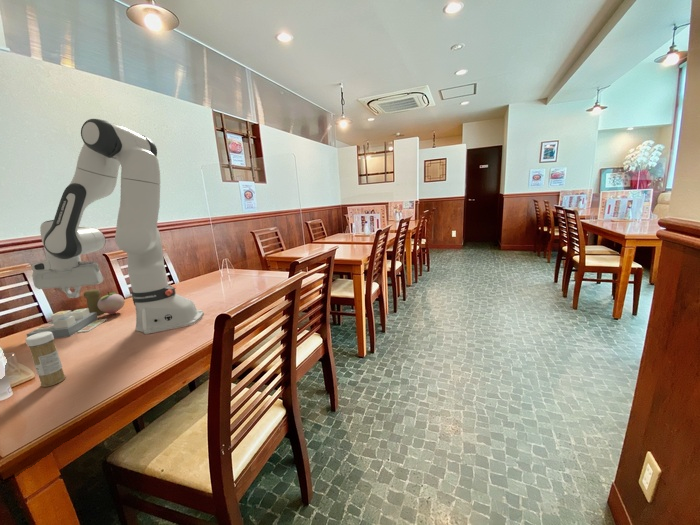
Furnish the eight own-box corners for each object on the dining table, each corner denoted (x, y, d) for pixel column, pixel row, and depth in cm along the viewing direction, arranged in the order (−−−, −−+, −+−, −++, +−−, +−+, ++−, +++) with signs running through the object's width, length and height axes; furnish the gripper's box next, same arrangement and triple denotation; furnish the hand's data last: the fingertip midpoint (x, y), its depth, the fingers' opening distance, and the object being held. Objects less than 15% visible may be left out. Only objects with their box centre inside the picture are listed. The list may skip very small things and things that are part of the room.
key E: (90, 316, 111) (88, 307, 111) (83, 320, 108) (81, 311, 107) (78, 317, 110) (76, 309, 110) (71, 321, 107) (68, 312, 106)
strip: (106, 319, 113) (106, 318, 112) (88, 331, 102) (88, 330, 102) (96, 321, 112) (95, 319, 112) (77, 333, 101) (76, 331, 101)
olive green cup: (95, 317, 116) (88, 292, 114) (84, 316, 117) (77, 292, 115) (110, 311, 122) (104, 287, 120) (99, 311, 123) (93, 287, 121)
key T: (59, 331, 103) (56, 322, 102) (51, 336, 99) (48, 327, 98) (46, 333, 102) (43, 324, 101) (37, 338, 98) (34, 329, 97)
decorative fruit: (121, 316, 115) (115, 293, 113) (97, 319, 113) (91, 296, 111) (130, 308, 124) (125, 287, 122) (109, 311, 122) (103, 290, 120)
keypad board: (98, 318, 114) (96, 312, 113) (70, 336, 99) (67, 328, 98) (63, 323, 111) (61, 316, 111) (29, 342, 96) (26, 334, 95)
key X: (76, 324, 104) (73, 315, 103) (68, 328, 100) (65, 319, 99) (63, 326, 103) (61, 316, 102) (55, 330, 99) (52, 321, 98)
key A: (73, 318, 110) (70, 309, 109) (66, 322, 106) (63, 313, 105) (61, 319, 109) (58, 311, 108) (53, 324, 105) (50, 314, 105)
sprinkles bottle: (40, 383, 72) (24, 336, 69) (65, 374, 75) (51, 329, 72) (41, 390, 69) (25, 341, 66) (67, 380, 72) (52, 333, 69)
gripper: (102, 259, 110) (109, 292, 112) (39, 263, 105) (49, 297, 108) (92, 262, 104) (100, 297, 106) (25, 266, 99) (35, 302, 102)
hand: (73, 297), depth 107 cm, fingers closed
